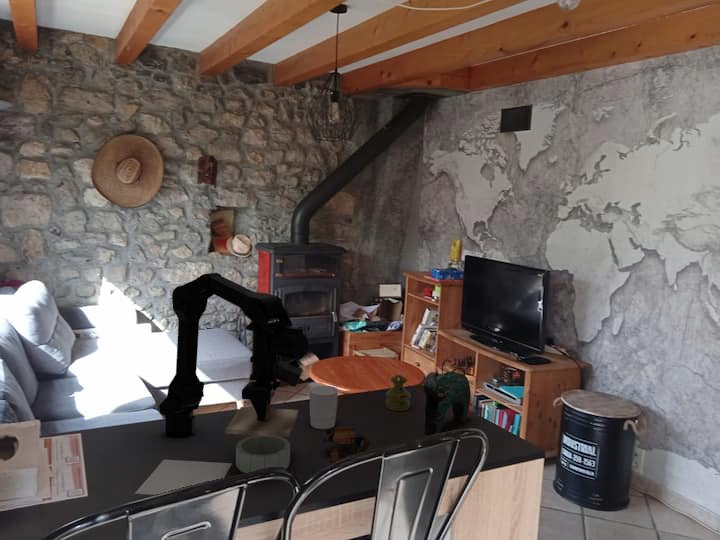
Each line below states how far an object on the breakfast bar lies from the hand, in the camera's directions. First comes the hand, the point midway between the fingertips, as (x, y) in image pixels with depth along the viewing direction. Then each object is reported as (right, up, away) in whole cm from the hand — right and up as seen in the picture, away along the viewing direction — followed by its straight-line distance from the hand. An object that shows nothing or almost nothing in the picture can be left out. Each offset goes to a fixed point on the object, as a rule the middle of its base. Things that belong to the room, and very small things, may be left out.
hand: (263, 417), depth 136 cm
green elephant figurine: (+46, -10, +29) cm, 55 cm away
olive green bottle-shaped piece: (+34, -8, +44) cm, 56 cm away
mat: (-16, -12, -7) cm, 21 cm away
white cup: (+12, -9, +28) cm, 31 cm away
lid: (0, -2, 0) cm, 2 cm away
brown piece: (+19, -12, +9) cm, 24 cm away
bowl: (0, -12, +1) cm, 12 cm away
